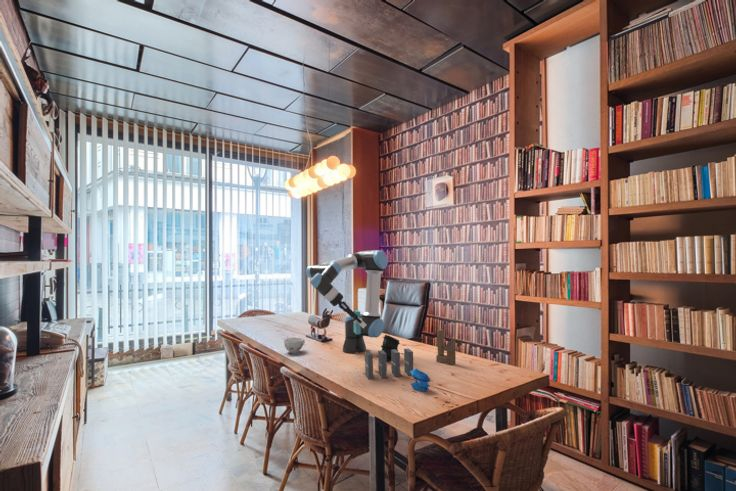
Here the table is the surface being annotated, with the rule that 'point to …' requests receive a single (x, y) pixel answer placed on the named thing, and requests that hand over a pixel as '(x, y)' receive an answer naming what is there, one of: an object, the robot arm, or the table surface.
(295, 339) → the teacup
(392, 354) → the domino
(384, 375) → the domino
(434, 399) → the table surface
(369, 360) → the domino
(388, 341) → the black angular block
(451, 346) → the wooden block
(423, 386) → the crystal
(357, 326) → the teal domino
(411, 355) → the domino
